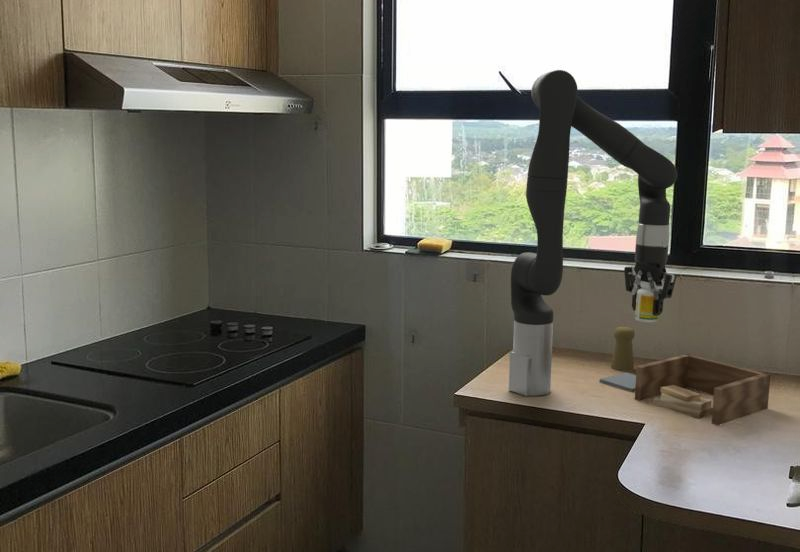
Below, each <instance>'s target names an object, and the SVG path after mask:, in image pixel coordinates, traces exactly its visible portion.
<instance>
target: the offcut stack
mask: <svg viewBox="0 0 800 552" xmlns="http://www.w3.org/2000/svg"><path fill="white" fill-rule="evenodd" d="M660 392H661V393H662V394H661V395H659V396H656V397H653V405H654V406H658V407H660V408H664V409H666V410H670V411H673V412H676V413H680V414H682V415H686V416H689V417H692V418H695V419H702V418H705V417H708V416H712V411H713V407H712V401H713V400H712V399H709V398H704V397H701V393H697V392H695V391H692V390H688V389H687V388H681V387H678V386H675V385H670V386H665V387H661V389H660Z"/></svg>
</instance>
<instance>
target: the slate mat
mask: <svg viewBox="0 0 800 552" xmlns="http://www.w3.org/2000/svg"><path fill="white" fill-rule="evenodd" d="M599 383H601V384H605V385H608V386H612V387H615V388H617V389H621V390H624V391H628V392H630V393H633V392H634V393H635V385H636V374H632V373H628V372H627V371H624V372H622V373H619V374H618V373H617V374H614V375H610V376H606V377H602V378H599Z"/></svg>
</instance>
